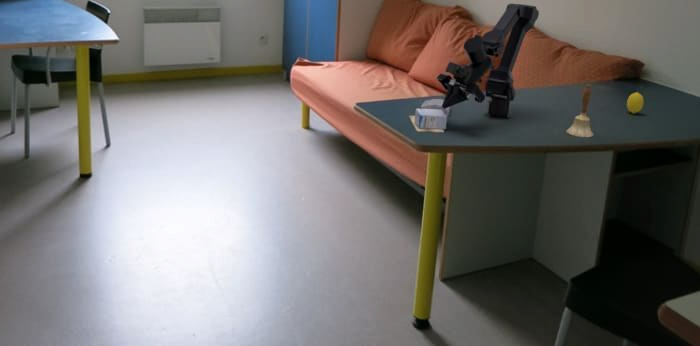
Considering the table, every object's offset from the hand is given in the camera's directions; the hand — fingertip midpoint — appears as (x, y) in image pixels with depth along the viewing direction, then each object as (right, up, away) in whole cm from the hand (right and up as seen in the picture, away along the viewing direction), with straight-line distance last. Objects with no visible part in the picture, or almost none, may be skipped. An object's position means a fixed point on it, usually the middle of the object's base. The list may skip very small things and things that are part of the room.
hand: (443, 107), depth 225 cm
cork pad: (-5, -5, +6) cm, 9 cm away
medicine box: (+1, -3, +3) cm, 5 cm away
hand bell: (+45, -8, +7) cm, 46 cm away
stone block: (0, 0, +22) cm, 22 cm away
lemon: (+73, +1, +37) cm, 82 cm away
